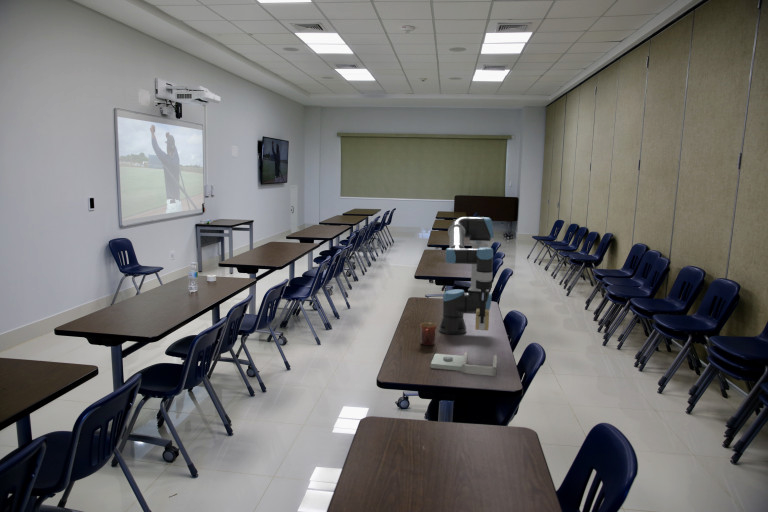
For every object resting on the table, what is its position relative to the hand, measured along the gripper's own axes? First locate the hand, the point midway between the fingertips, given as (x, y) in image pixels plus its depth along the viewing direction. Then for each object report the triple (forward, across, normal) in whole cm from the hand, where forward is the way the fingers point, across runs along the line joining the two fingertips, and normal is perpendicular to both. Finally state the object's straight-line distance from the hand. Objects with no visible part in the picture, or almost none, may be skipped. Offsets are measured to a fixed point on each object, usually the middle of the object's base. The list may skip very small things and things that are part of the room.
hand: (482, 327), depth 241 cm
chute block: (0, 0, 0) cm, 0 cm away
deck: (+15, +14, -7) cm, 21 cm away
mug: (+15, -12, -28) cm, 34 cm away
